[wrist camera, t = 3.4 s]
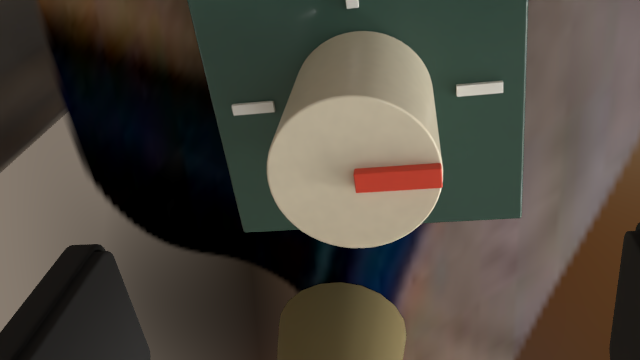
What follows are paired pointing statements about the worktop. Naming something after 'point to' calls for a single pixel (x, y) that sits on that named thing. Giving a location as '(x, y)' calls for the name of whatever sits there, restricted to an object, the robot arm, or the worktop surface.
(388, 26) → the panel
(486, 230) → the worktop surface
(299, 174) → the grip knob
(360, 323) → the cork
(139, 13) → the worktop surface
